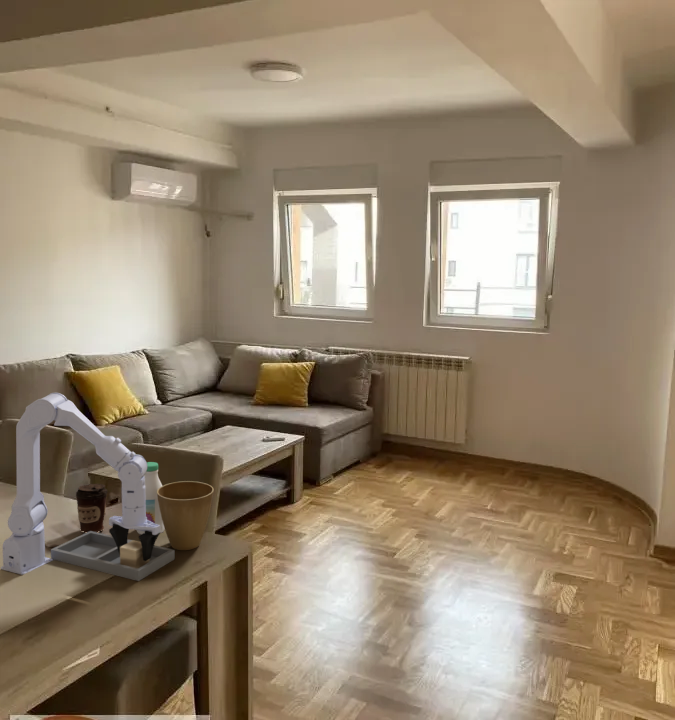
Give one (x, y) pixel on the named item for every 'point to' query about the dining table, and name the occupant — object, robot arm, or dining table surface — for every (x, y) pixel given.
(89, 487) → the coffee cup
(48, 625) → the dining table surface
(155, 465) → the milk bottle
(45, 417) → the robot arm
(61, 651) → the dining table surface
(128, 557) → the maple cube
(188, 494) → the plant pot
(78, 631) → the dining table surface
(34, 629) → the dining table surface
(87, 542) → the tray
